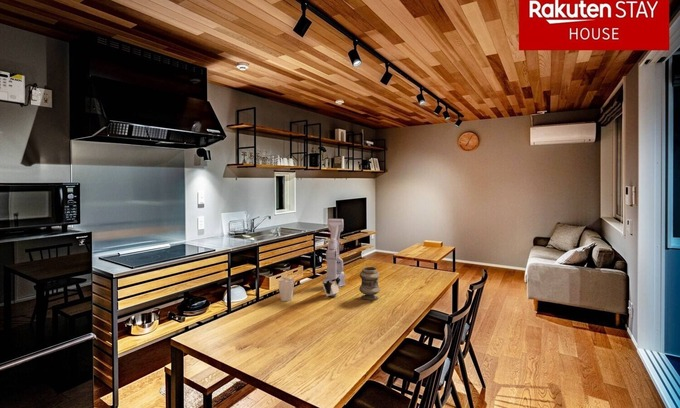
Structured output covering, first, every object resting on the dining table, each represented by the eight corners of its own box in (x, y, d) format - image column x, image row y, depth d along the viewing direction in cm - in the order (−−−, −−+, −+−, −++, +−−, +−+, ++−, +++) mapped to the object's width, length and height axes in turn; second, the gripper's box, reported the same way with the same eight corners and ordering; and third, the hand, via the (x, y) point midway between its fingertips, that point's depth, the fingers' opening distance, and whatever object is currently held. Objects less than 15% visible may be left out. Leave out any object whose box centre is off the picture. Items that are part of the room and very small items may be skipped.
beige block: (332, 294, 212) (328, 282, 213) (339, 291, 209) (335, 280, 210) (326, 296, 207) (322, 285, 209) (333, 294, 204) (329, 282, 205)
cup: (291, 302, 198) (291, 281, 197) (276, 301, 200) (276, 280, 199) (296, 297, 207) (296, 277, 206) (281, 295, 208) (281, 276, 207)
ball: (339, 291, 207) (336, 297, 208) (334, 285, 210) (332, 292, 212) (332, 291, 204) (329, 298, 205) (328, 286, 207) (325, 293, 209)
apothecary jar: (355, 299, 203) (356, 269, 201) (364, 293, 213) (364, 264, 212) (375, 303, 197) (375, 272, 196) (382, 296, 208) (383, 267, 206)
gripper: (333, 266, 216) (333, 287, 217) (318, 271, 204) (318, 293, 205) (343, 267, 212) (342, 289, 213) (328, 273, 200) (328, 296, 201)
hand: (331, 291), depth 209 cm, fingers closed on beige block, 6 cm apart
